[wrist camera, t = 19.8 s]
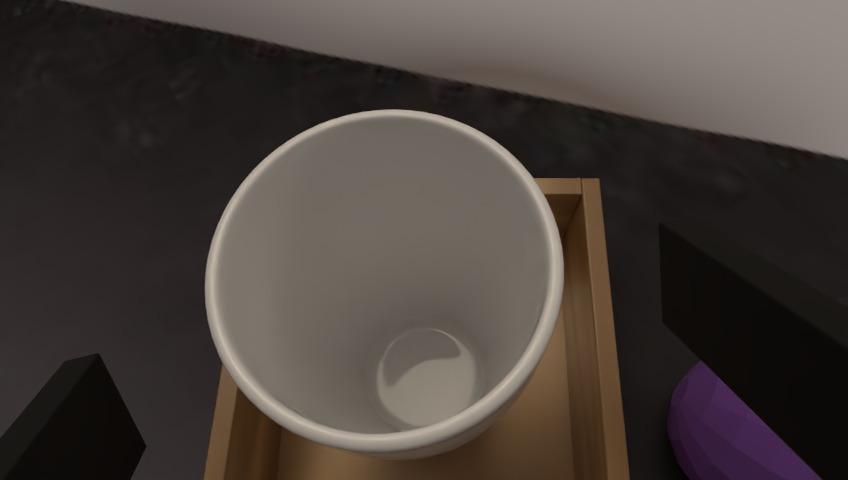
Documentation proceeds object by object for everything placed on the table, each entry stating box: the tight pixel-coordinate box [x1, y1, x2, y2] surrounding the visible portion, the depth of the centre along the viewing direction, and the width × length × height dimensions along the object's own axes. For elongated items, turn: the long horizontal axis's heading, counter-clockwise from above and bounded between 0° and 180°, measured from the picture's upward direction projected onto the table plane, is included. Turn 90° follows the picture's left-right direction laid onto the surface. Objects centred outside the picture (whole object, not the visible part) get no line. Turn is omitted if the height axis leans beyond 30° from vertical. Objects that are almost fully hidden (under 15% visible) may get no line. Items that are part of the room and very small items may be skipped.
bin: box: [203, 178, 630, 480], centre depth 22 cm, size 13×13×6 cm
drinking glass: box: [205, 110, 564, 461], centre depth 17 cm, size 7×7×15 cm
